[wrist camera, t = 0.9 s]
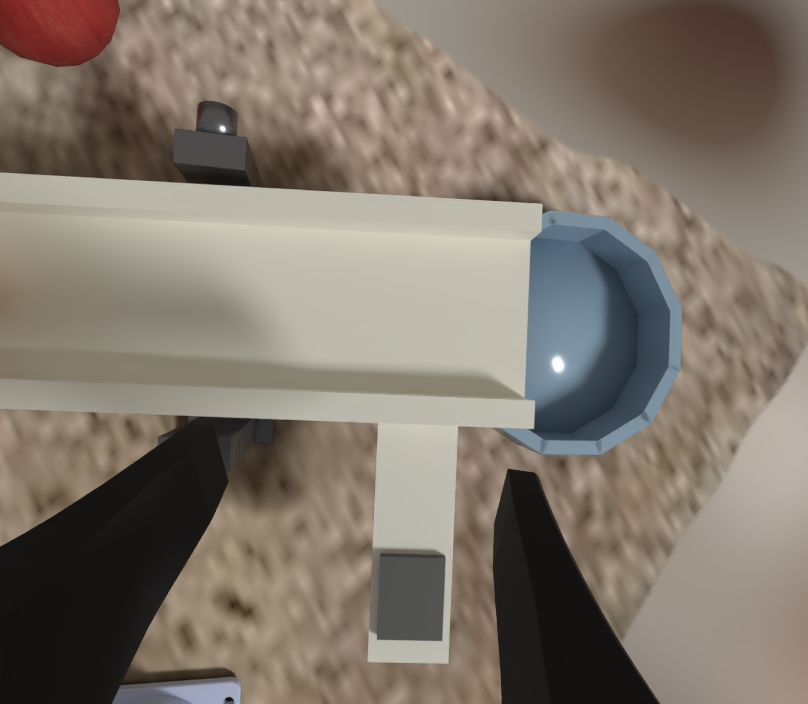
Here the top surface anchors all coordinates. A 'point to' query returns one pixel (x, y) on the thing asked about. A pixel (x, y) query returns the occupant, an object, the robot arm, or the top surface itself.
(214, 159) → the stand
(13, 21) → the onion
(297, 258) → the lever
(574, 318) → the blue bowl
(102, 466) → the top surface
